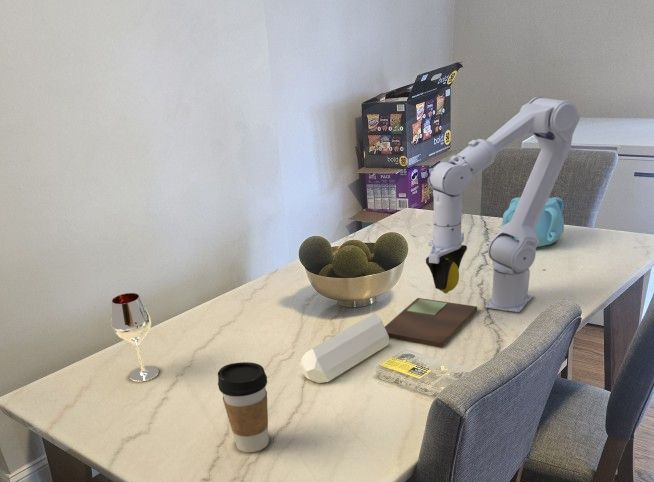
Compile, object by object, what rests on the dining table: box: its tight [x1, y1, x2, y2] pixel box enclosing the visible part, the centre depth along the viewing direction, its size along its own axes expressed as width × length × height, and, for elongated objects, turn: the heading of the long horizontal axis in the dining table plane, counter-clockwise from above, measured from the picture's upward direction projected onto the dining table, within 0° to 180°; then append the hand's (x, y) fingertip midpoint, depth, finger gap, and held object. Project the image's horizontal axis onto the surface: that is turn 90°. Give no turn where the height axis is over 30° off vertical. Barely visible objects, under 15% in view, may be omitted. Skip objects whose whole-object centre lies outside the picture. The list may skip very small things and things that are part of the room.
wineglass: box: [110, 292, 160, 383], centre depth 146 cm, size 8×8×18 cm
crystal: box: [299, 313, 390, 384], centre depth 145 cm, size 7×7×24 cm
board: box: [384, 297, 478, 348], centre depth 157 cm, size 20×15×1 cm
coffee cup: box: [217, 361, 270, 453], centre depth 120 cm, size 8×8×15 cm
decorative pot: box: [500, 196, 565, 247], centre depth 189 cm, size 16×16×14 cm
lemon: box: [438, 258, 460, 294], centre depth 151 cm, size 6×6×8 cm
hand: (446, 283), depth 152 cm, fingers closed on lemon, 5 cm apart
